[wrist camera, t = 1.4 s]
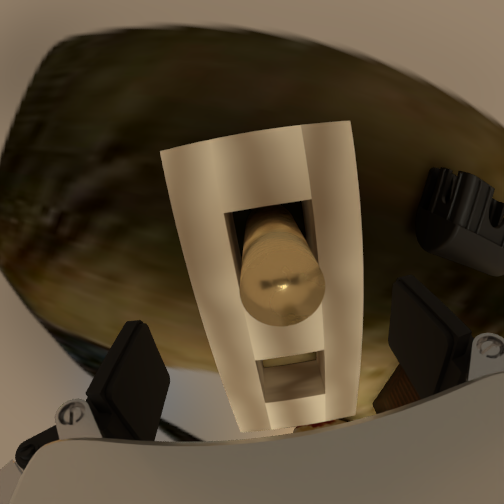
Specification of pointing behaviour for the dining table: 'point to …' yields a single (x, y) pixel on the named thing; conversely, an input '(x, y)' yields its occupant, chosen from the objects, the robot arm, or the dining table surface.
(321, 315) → the board
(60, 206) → the dining table surface
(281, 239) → the pin
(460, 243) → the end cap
